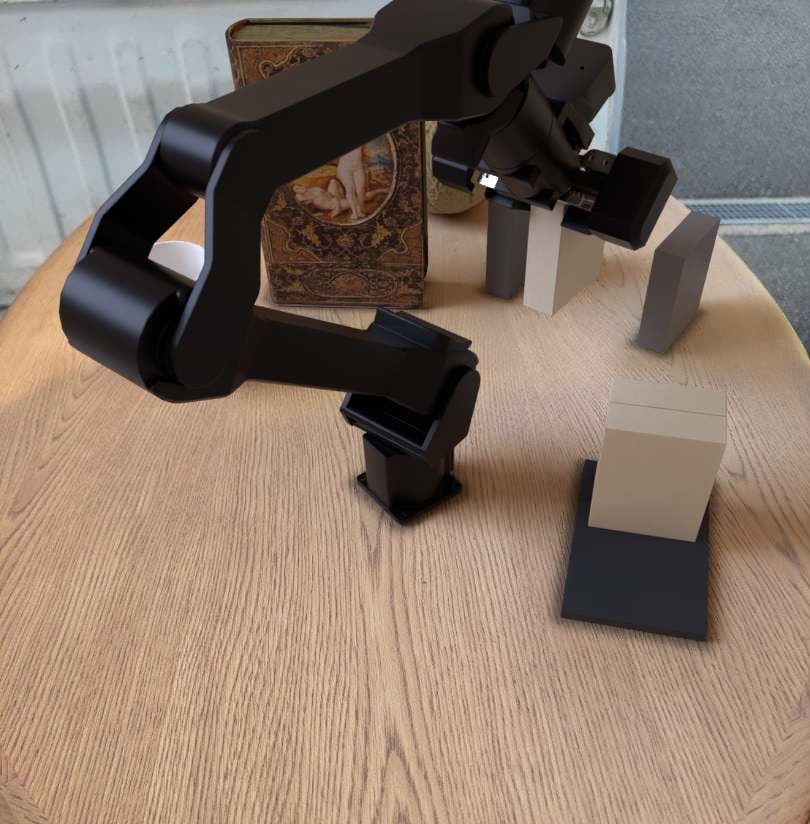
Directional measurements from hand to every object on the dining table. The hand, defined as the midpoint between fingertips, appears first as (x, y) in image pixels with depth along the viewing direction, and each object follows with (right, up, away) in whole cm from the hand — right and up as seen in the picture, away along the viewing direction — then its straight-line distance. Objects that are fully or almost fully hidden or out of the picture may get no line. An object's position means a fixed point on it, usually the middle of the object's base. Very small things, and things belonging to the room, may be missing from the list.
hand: (579, 214), depth 73 cm
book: (-21, -2, +18) cm, 27 cm away
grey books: (+4, -3, +15) cm, 16 cm away
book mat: (+3, -28, -7) cm, 29 cm away
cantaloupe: (-10, +12, +29) cm, 33 cm away
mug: (-37, -10, +11) cm, 40 cm away
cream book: (-1, -5, +4) cm, 7 cm away
